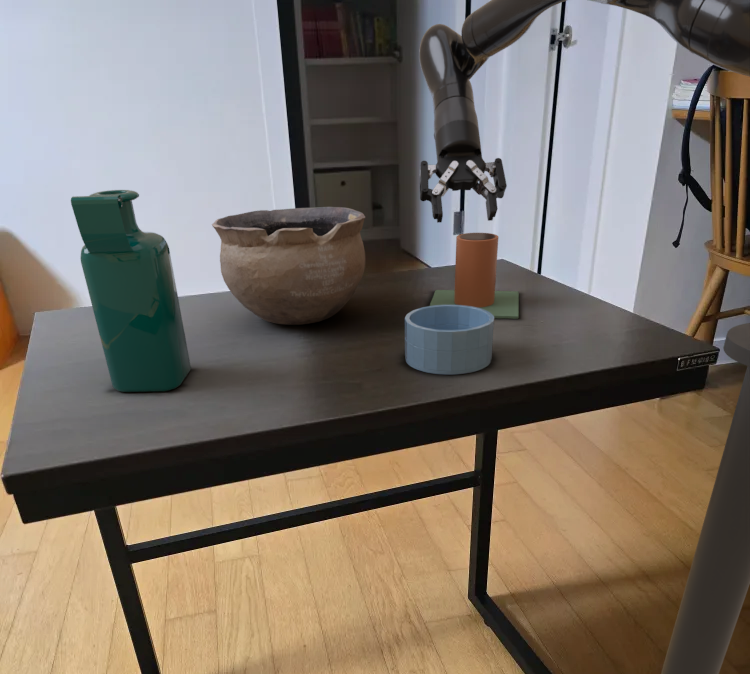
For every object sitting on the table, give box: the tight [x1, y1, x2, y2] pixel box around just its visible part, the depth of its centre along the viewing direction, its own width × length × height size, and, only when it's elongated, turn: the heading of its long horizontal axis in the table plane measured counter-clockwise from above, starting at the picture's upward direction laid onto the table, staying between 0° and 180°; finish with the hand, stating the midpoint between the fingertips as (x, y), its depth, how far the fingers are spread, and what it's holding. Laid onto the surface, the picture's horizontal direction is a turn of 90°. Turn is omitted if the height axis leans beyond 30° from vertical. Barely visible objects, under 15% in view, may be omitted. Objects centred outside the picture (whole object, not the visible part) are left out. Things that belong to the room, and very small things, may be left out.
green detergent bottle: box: [70, 189, 192, 393], centre depth 78 cm, size 10×8×22 cm
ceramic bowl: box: [211, 206, 366, 326], centre depth 101 cm, size 22×22×15 cm
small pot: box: [454, 232, 499, 308], centre depth 105 cm, size 6×6×10 cm
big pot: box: [404, 305, 495, 376], centre depth 86 cm, size 11×11×6 cm
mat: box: [429, 289, 520, 320], centre depth 108 cm, size 14×14×1 cm
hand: (465, 218), depth 111 cm, fingers open, 8 cm apart
